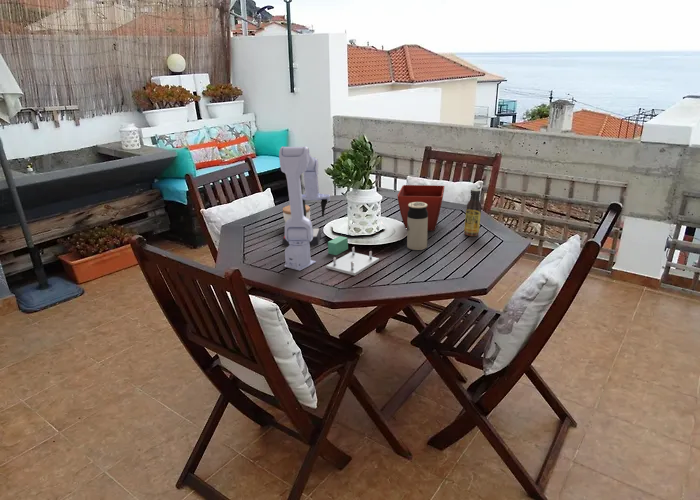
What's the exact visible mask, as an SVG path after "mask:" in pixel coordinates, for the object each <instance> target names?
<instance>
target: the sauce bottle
mask: <svg viewBox="0 0 700 500" xmlns="http://www.w3.org/2000/svg"><path fill="white" fill-rule="evenodd" d="M481 192H482V190H481V189H480V188H471V189H470V197H469V198H470V199H469V201H468V202H467V204H466V210H465V219H464V227H463V234H464V235H465V236H467V237H477V236H478V235H479V232H480V226H481V219H482V218H481V217H482V203H481V202H480V201H481V200H480V197H481Z"/></svg>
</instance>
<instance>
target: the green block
mask: <svg viewBox="0 0 700 500" xmlns="http://www.w3.org/2000/svg"><path fill="white" fill-rule="evenodd" d="M348 239H349V238H348V236H347V237H345V236H343V235H339V236H337V237H334V238H333V239H331V240H329V241H327V254H330V255H332V256H333V255H334V256H338V255H340V254H341V253H344V252H345V251H347V250H349V240H348Z"/></svg>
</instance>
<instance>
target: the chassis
mask: <svg viewBox="0 0 700 500" xmlns="http://www.w3.org/2000/svg"><path fill="white" fill-rule="evenodd" d="M332 260H333V261H332V262H330V263H329V264H327V265H326V266H325V268H326V269H327V270H333V271H336V272H340V273H344V274H347V275H351V276H357V275H359V274H360V273H362V272H364V271H365V270H366V269H368V268H370V267H371V266H373V265H374V264H377V263H378V262H379V261H380V258H379V257H375V256H373V251H372V250H370V251H369V255H367V254H364V253H363V254H362V253H359V252H356V250H355V246H353V247H351V251H350V252H348V253H347V254H345V255H343V256H341V257H339V258H337V257H335V256H333V258H332Z"/></svg>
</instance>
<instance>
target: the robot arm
mask: <svg viewBox="0 0 700 500" xmlns="http://www.w3.org/2000/svg"><path fill="white" fill-rule="evenodd" d="M278 158H279V167H280V171H281V172H282V173H284V174H285V178H286V182H287V192H288V199H289V205H290V210H291V218H290V219H288V220H287V221H286V222H285V223H284V235H285V239H286V240H287V241H289V244H290V245H287V247H285V250H284V259H285V264H284V267H285V268H289V269H292V270H295V271H299V272H300V271H302V270H304V269H306V268H308V267H310V266H311V265H314V264H316V260H312V258H311V245H310V243H309V242H311V241H312V239H313V229H314V228H313V223H312V220H311V219H308V218H307V217H306V207H305V205H306V201H320V206H321V216H322V217H325V209H326V206H327V203H328V201H331V194H326V193H320V191H319V189H320V188H319V177H318V175H319V159H318V158H316V157H314V156H312V155H311V154H310V149H309V147H308V146H307V145H304V146H281V147H280V148H279V151H278ZM302 174H303V183H304V184H303V185H304V192H305V193H304V194H303V192H302V183H301V182H302V181H301V175H302Z"/></svg>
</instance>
